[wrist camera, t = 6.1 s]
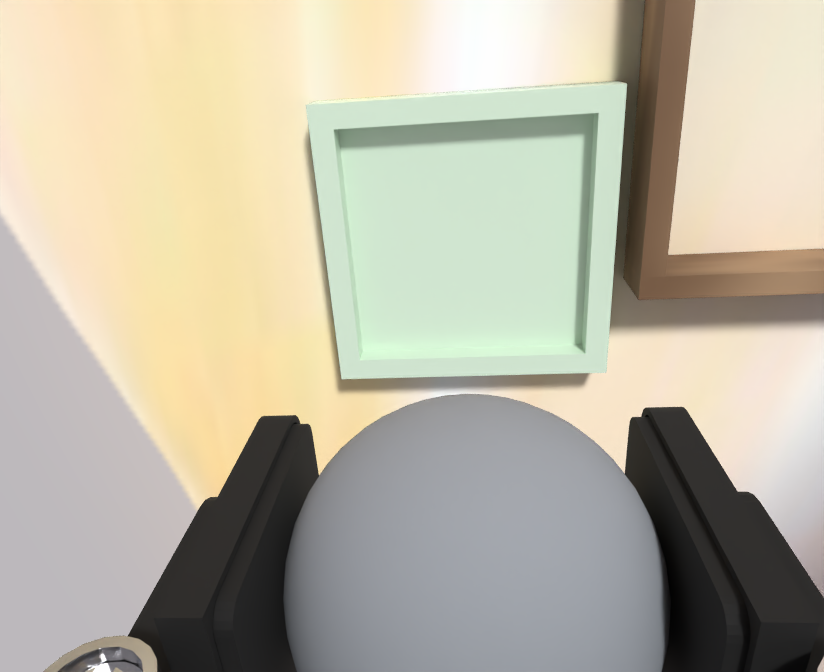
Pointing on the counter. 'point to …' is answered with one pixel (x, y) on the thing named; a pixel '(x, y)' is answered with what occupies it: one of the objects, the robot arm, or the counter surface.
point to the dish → (471, 228)
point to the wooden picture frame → (656, 181)
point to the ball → (475, 550)
